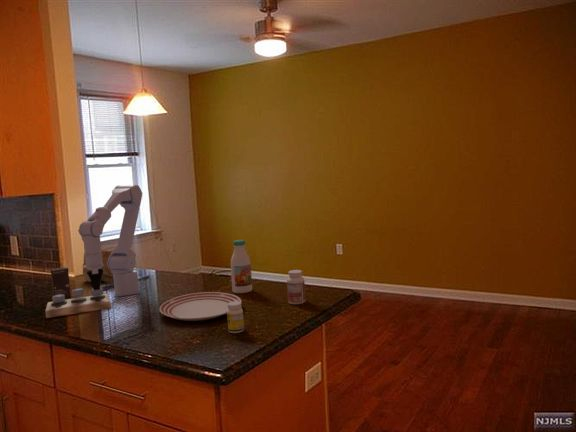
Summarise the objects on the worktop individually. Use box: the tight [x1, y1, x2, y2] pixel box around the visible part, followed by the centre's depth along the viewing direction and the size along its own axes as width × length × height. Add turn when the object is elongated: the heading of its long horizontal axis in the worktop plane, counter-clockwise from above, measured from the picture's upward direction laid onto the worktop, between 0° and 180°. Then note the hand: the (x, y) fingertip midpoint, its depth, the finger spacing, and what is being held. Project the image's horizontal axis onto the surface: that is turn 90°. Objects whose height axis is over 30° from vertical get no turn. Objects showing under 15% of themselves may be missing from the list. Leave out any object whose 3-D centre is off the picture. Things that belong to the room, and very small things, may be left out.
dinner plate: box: [158, 291, 242, 322], centre depth 161 cm, size 27×27×3 cm
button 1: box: [52, 294, 66, 303], centre depth 170 cm, size 4×4×2 cm
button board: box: [44, 293, 112, 319], centre depth 172 cm, size 21×12×3 cm, turn 113°
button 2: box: [90, 287, 104, 296], centre depth 175 cm, size 4×4×2 cm
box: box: [50, 266, 72, 299], centre depth 188 cm, size 6×4×12 cm
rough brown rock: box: [82, 249, 114, 285], centre depth 213 cm, size 23×17×15 cm
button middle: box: [71, 287, 85, 298], centre depth 173 cm, size 4×4×2 cm
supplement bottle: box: [226, 301, 245, 334], centre depth 140 cm, size 5×5×8 cm
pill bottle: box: [286, 269, 306, 305], centre depth 165 cm, size 6×6×11 cm
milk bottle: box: [230, 239, 253, 294], centre depth 183 cm, size 8×8×20 cm
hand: (96, 289), depth 175 cm, fingers closed, pressing on button 2
